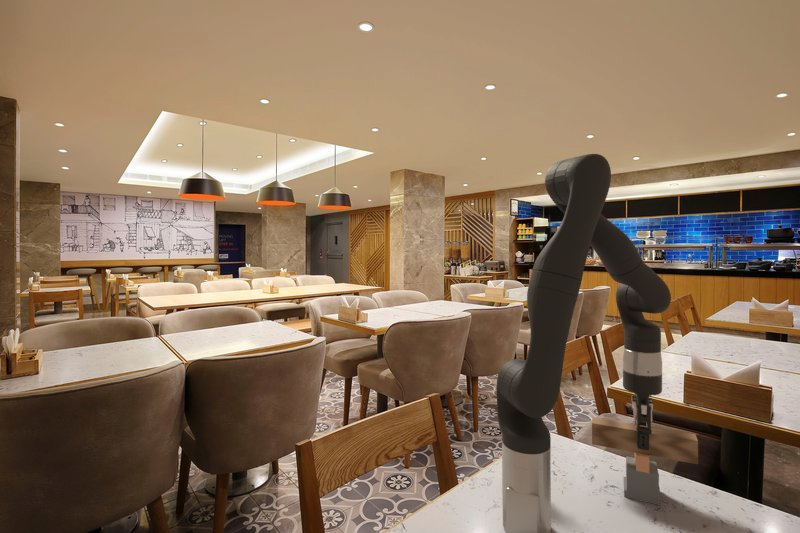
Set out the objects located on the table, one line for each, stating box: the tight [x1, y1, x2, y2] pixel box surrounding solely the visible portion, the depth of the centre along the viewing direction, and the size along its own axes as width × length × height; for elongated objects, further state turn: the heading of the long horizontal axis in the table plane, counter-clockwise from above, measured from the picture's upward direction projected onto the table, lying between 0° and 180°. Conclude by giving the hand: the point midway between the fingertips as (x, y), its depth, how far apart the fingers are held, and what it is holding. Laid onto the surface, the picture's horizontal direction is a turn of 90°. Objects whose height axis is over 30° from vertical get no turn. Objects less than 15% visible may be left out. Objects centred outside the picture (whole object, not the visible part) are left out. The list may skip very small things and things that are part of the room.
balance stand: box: [623, 452, 663, 506], centre depth 90 cm, size 6×7×10 cm
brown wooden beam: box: [591, 417, 699, 465], centre depth 89 cm, size 20×4×5 cm, turn 62°
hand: (641, 440), depth 90 cm, fingers open, 8 cm apart
